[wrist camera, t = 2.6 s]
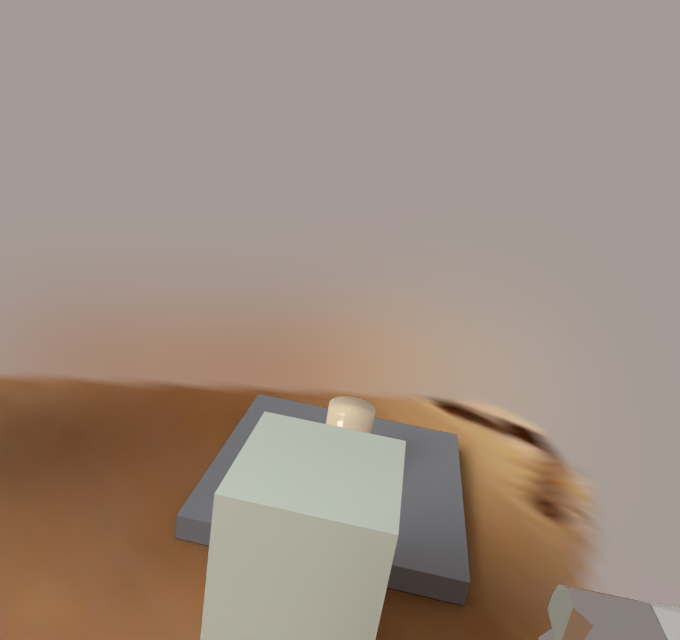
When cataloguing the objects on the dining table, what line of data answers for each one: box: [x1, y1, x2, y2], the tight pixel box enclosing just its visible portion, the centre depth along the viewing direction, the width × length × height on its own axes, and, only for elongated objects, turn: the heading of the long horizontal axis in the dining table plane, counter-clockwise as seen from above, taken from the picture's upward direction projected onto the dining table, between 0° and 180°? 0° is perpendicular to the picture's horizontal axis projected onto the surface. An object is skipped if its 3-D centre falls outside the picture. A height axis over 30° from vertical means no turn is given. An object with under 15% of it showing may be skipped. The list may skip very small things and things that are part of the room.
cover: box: [200, 411, 406, 640], centre depth 23 cm, size 6×6×11 cm
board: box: [175, 394, 471, 605], centre depth 38 cm, size 16×16×6 cm
